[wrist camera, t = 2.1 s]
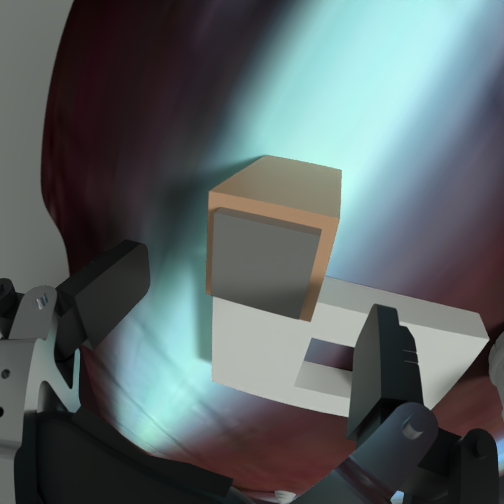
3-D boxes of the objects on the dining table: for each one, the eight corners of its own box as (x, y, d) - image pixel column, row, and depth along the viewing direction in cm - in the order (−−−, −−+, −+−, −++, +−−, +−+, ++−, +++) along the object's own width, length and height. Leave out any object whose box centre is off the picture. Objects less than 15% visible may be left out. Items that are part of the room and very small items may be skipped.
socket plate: (230, 252, 21) (213, 274, 18) (478, 313, 17) (489, 339, 14) (223, 358, 27) (211, 380, 24) (413, 401, 23) (414, 425, 20)
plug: (265, 154, 17) (201, 196, 10) (341, 169, 16) (339, 226, 9) (257, 223, 19) (200, 301, 12) (326, 239, 18) (308, 332, 11)
